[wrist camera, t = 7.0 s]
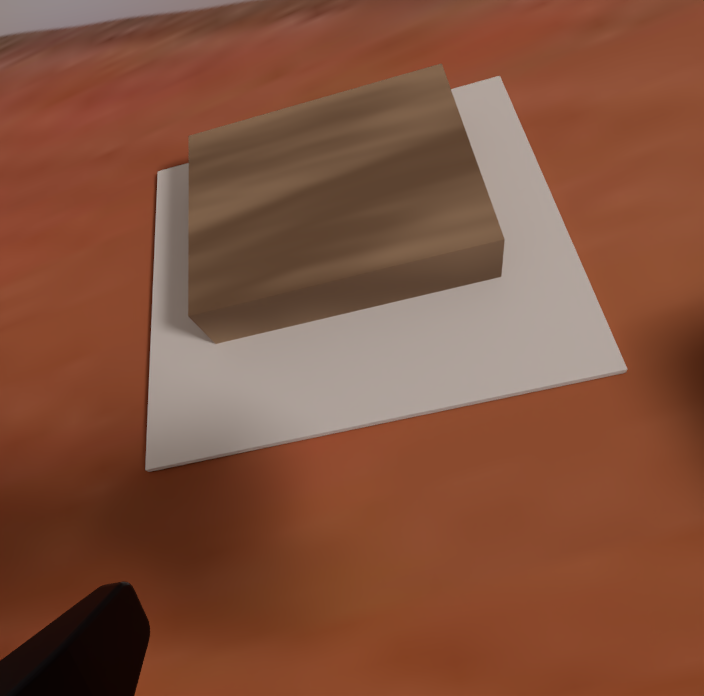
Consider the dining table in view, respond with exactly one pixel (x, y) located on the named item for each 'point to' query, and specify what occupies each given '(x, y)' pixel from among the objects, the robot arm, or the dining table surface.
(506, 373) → the mat
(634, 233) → the dining table surface
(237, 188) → the board
